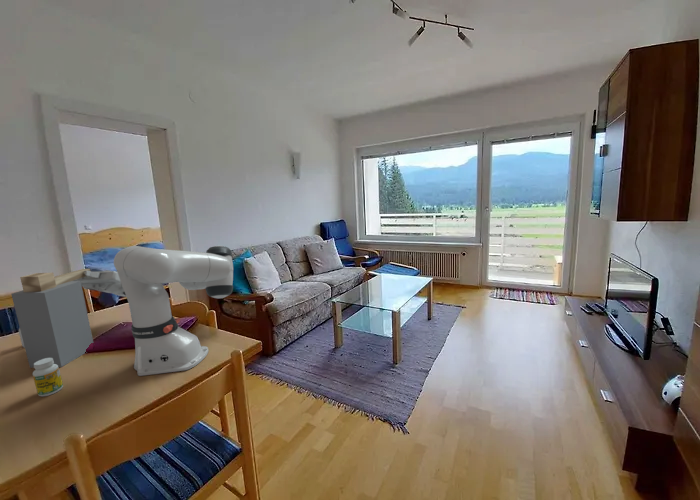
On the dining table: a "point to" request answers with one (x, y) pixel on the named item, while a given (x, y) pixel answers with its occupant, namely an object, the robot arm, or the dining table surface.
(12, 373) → the dining table surface
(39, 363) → the supplement bottle
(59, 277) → the mallet
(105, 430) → the dining table surface
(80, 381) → the dining table surface
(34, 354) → the pedestal
